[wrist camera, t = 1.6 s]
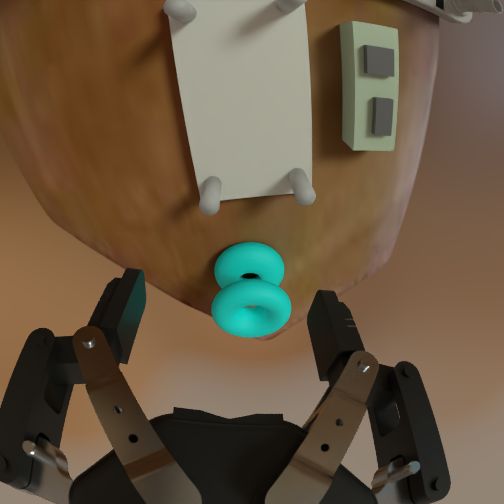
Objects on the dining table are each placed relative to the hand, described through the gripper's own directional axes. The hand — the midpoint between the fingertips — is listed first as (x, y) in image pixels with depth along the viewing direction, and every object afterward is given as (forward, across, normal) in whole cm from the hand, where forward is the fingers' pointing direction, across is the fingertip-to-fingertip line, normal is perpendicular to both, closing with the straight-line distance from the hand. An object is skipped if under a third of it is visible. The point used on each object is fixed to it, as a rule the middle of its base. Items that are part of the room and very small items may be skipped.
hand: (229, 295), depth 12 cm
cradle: (+21, 0, -8) cm, 22 cm away
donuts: (+24, -4, +15) cm, 29 cm away
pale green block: (+21, -12, -13) cm, 27 cm away
